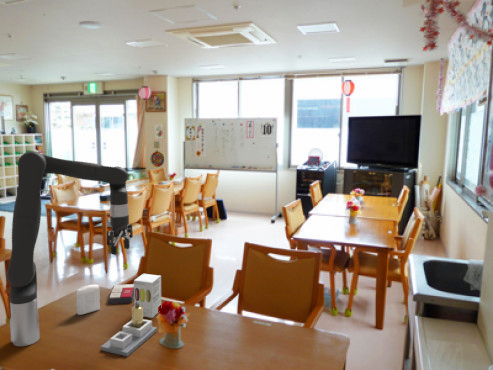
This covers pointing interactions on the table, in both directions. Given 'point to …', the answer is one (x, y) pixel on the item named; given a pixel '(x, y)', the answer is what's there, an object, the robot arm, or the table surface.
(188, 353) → the table surface
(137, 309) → the yellow bottle
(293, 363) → the table surface
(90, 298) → the photo printer
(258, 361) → the table surface
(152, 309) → the supplement box
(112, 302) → the printed cardboard box
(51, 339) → the table surface
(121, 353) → the grey holder tray
